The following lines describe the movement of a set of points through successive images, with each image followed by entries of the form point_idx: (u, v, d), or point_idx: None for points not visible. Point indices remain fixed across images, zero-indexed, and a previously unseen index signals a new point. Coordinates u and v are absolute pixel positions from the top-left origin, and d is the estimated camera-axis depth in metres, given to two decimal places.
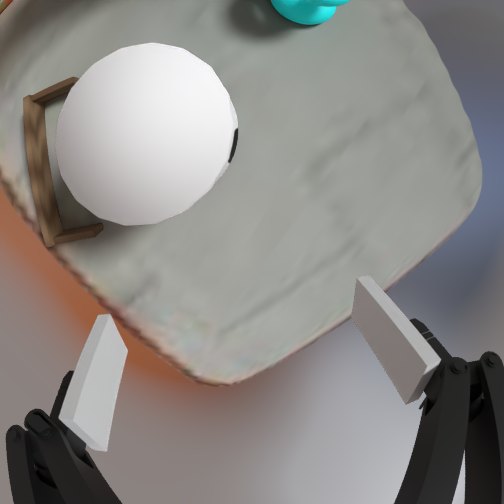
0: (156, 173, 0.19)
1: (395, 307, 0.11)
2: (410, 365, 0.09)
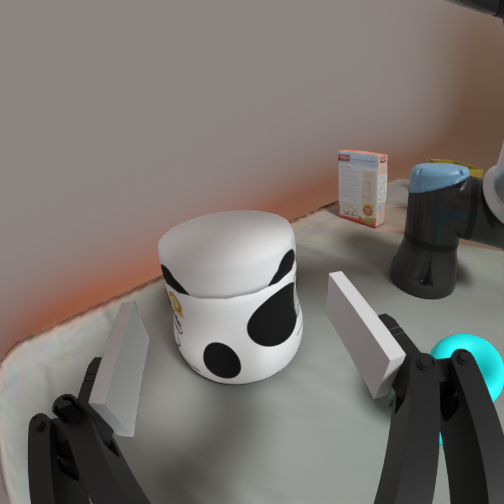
0: (192, 241, 0.29)
1: (365, 302, 0.12)
2: (375, 359, 0.10)
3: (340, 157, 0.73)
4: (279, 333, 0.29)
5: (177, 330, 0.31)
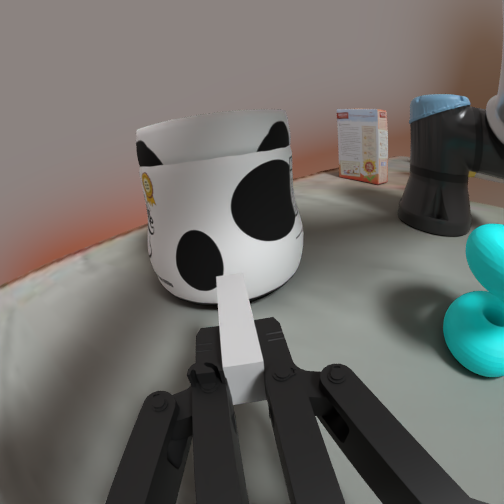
0: None
1: (249, 304, 0.13)
2: None
3: (339, 115, 0.68)
4: (273, 224, 0.24)
5: (149, 233, 0.26)
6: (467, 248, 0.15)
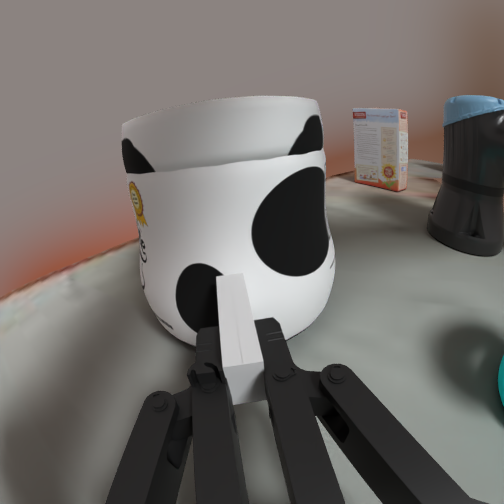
0: None
1: (249, 304, 0.13)
2: None
3: (355, 115, 0.61)
4: (306, 253, 0.18)
5: (141, 260, 0.20)
6: None
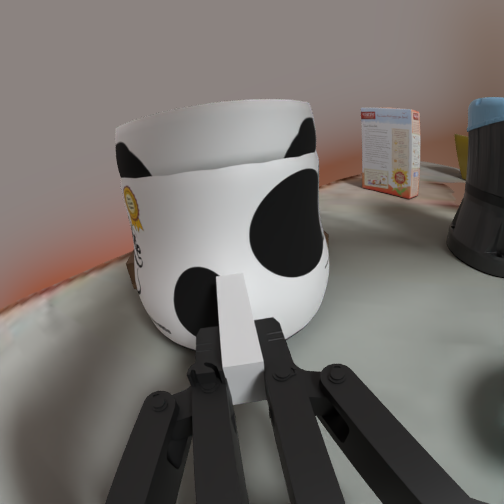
0: None
1: (249, 304, 0.13)
2: None
3: (363, 115, 0.55)
4: (302, 254, 0.18)
5: (136, 265, 0.19)
6: None
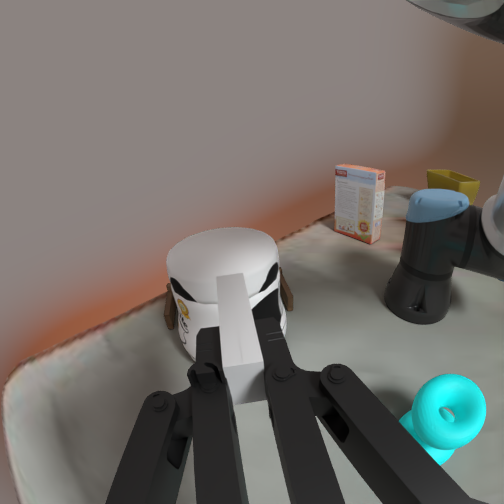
0: (195, 257, 0.35)
1: None
2: None
3: (337, 172, 0.74)
4: None
5: (183, 330, 0.38)
6: (413, 403, 0.22)
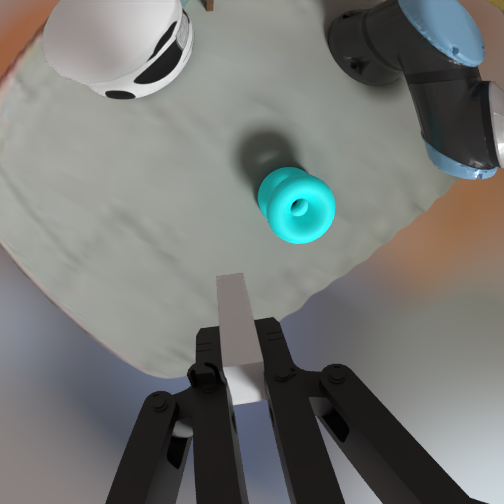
0: (71, 36, 0.15)
1: None
2: None
3: None
4: (164, 71, 0.27)
5: None
6: (273, 190, 0.36)
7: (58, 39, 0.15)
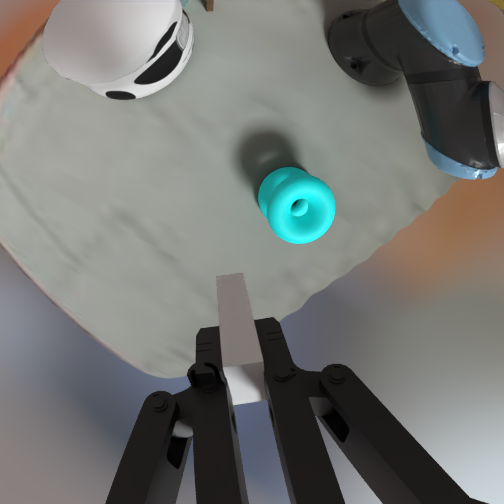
0: (72, 37, 0.16)
1: None
2: None
3: None
4: (164, 71, 0.27)
5: None
6: (273, 190, 0.36)
7: (58, 40, 0.15)
